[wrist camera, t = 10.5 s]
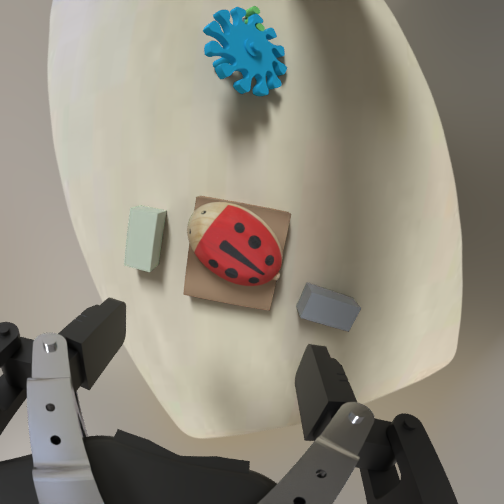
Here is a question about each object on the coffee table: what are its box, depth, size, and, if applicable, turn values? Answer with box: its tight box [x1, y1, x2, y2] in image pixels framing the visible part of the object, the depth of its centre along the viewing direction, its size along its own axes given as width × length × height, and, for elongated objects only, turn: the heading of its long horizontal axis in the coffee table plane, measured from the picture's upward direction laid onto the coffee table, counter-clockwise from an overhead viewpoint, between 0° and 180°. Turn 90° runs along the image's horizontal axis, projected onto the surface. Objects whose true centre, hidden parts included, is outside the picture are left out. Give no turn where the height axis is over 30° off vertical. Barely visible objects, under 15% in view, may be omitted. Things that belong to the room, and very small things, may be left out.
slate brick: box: [296, 282, 361, 332], centre depth 28 cm, size 6×3×3 cm, turn 70°
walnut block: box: [183, 196, 291, 311], centre depth 28 cm, size 10×9×3 cm
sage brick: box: [124, 205, 167, 272], centre depth 27 cm, size 6×3×3 cm, turn 167°
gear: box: [203, 6, 287, 96], centre depth 21 cm, size 11×6×10 cm
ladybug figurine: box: [187, 202, 282, 286], centre depth 24 cm, size 7×10×4 cm
